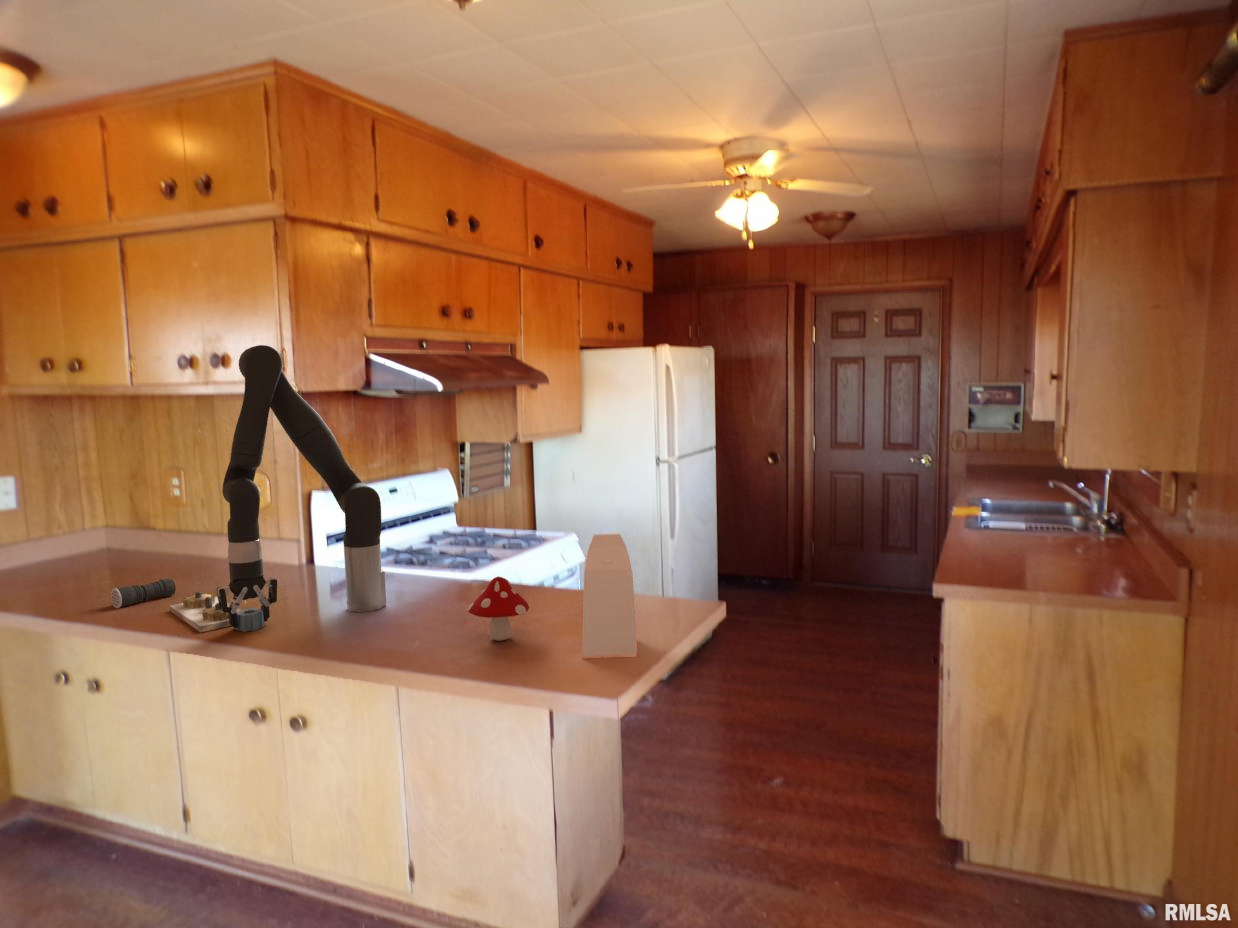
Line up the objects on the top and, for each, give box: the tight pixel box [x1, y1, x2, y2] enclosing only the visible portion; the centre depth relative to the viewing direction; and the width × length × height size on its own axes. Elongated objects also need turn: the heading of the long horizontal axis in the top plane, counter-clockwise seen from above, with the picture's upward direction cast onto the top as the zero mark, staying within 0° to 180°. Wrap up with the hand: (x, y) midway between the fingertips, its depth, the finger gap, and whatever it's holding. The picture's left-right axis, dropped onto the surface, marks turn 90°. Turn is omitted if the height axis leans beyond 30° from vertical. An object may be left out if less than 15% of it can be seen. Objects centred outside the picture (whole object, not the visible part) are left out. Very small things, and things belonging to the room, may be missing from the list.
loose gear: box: [235, 607, 265, 633], centre depth 202 cm, size 7×7×4 cm
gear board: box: [169, 590, 243, 633], centre depth 213 cm, size 12×26×5 cm, turn 43°
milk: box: [581, 533, 638, 657], centre depth 181 cm, size 12×12×26 cm
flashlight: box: [110, 578, 176, 609], centre depth 228 cm, size 15×5×5 cm, turn 145°
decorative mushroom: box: [467, 576, 530, 642], centre depth 189 cm, size 14×14×15 cm
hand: (250, 623), depth 203 cm, fingers closed on loose gear, 6 cm apart
